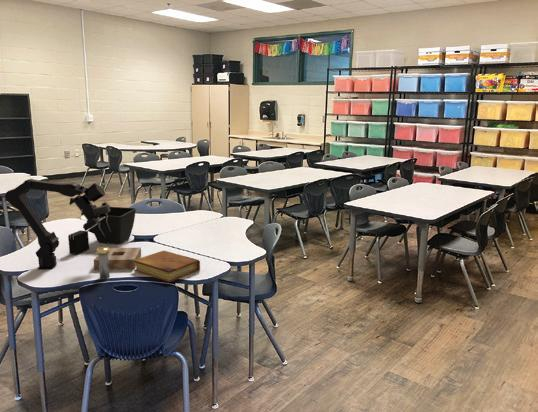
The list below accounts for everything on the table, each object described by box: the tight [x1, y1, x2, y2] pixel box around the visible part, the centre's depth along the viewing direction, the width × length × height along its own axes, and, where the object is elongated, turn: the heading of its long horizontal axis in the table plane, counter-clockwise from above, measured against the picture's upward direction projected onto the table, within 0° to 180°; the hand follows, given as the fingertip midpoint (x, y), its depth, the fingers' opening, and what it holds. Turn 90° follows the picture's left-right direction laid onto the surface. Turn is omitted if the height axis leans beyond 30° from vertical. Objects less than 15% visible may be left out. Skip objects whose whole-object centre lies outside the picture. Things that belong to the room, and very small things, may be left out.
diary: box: [133, 250, 201, 283], centre depth 209 cm, size 23×19×6 cm
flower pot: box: [93, 206, 137, 245], centre depth 252 cm, size 19×19×17 cm
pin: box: [96, 246, 111, 280], centre depth 199 cm, size 5×5×13 cm
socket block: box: [93, 247, 142, 271], centre depth 218 cm, size 18×18×4 cm
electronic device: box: [67, 230, 90, 256], centre depth 233 cm, size 4×10×10 cm, turn 164°
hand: (107, 235), depth 210 cm, fingers open, 9 cm apart
